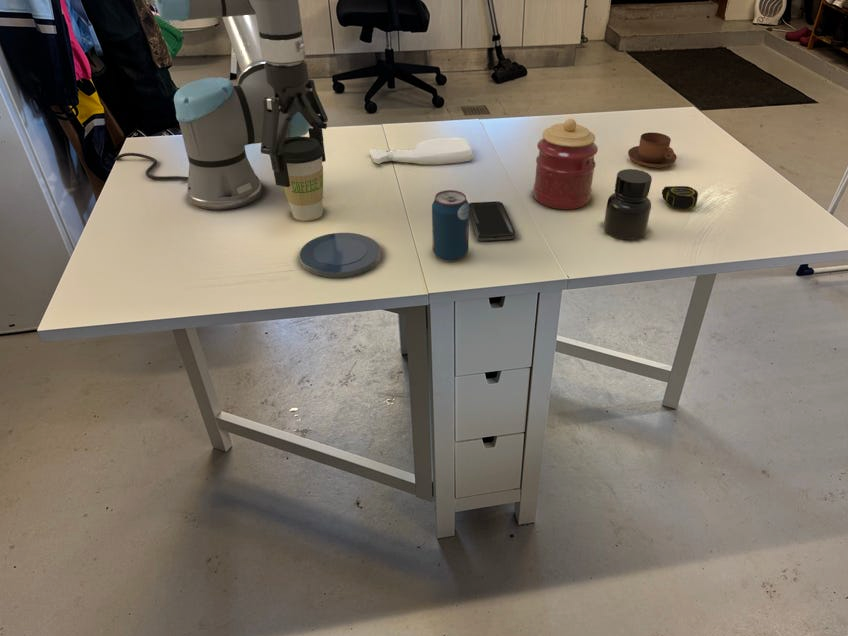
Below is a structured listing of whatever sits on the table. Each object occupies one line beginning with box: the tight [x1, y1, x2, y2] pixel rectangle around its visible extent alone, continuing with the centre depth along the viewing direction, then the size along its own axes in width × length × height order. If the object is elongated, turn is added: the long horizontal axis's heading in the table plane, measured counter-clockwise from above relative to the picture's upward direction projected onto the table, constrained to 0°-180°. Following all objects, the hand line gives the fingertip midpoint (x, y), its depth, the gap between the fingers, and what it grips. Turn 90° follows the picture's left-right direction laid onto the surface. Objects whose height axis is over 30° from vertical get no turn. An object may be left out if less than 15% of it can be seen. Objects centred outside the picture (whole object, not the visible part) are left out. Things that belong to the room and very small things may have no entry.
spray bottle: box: [369, 137, 474, 166], centre depth 163 cm, size 3×11×24 cm
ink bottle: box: [603, 168, 653, 240], centre depth 134 cm, size 10×9×12 cm
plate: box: [299, 232, 381, 279], centre depth 125 cm, size 15×15×1 cm
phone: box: [468, 200, 516, 242], centre depth 138 cm, size 8×1×15 cm
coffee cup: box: [276, 135, 325, 222], centre depth 134 cm, size 10×10×15 cm
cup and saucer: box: [627, 132, 678, 168], centre depth 164 cm, size 12×12×6 cm
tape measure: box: [661, 185, 699, 210], centre depth 146 cm, size 7×7×4 cm
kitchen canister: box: [533, 118, 599, 210], centre depth 143 cm, size 13×13×18 cm
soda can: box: [431, 189, 470, 263], centre depth 124 cm, size 7×7×12 cm
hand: (301, 172), depth 133 cm, fingers open, 13 cm apart
